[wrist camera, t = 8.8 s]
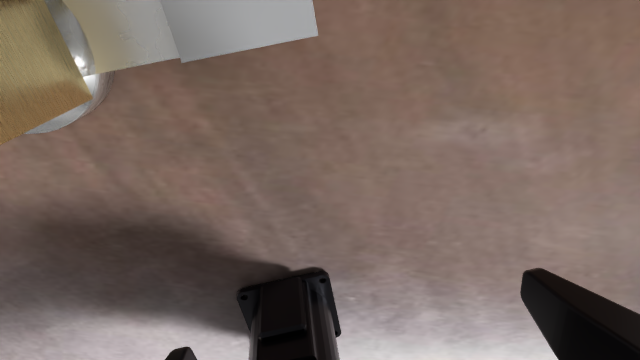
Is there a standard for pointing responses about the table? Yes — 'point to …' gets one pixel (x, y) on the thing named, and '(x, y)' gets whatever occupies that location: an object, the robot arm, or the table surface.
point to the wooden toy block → (34, 69)
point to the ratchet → (166, 35)
